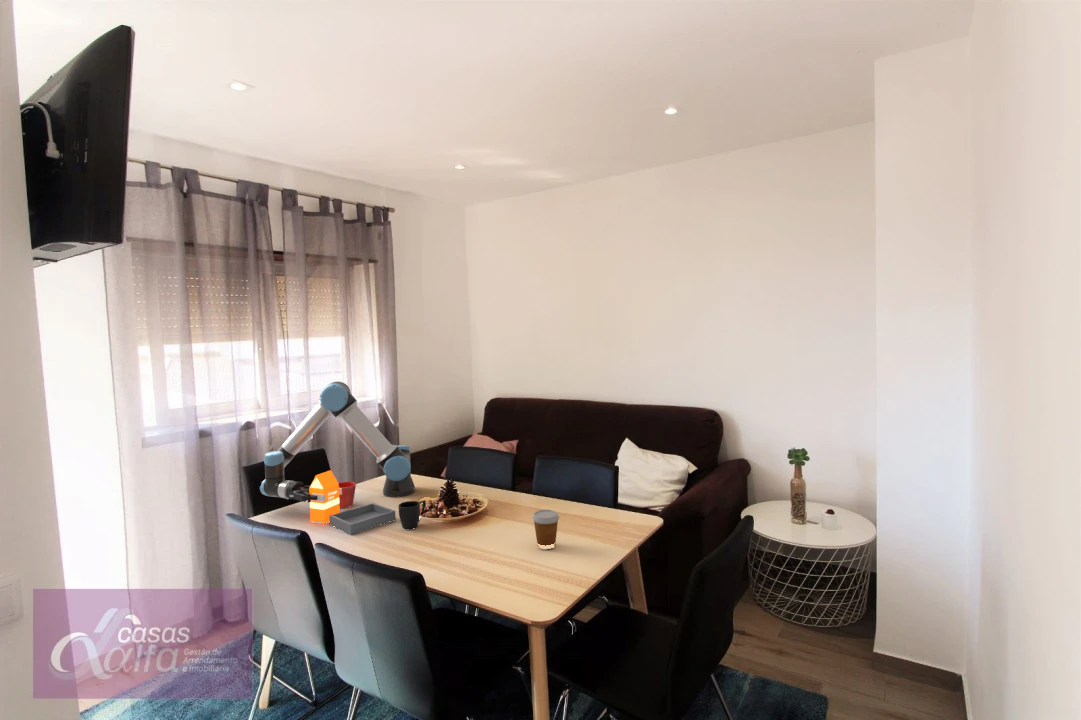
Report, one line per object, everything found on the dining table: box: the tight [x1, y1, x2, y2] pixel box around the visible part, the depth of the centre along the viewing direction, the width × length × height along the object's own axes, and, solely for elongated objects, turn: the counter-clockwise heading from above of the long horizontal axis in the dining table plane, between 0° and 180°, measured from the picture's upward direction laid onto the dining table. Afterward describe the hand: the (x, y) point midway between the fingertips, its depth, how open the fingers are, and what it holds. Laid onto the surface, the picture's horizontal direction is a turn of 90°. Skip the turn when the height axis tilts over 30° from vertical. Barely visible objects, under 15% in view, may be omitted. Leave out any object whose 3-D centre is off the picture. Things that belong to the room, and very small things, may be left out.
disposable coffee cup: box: [532, 509, 560, 546], centre depth 187 cm, size 10×10×12 cm
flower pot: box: [338, 481, 357, 509], centre depth 238 cm, size 11×11×10 cm
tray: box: [328, 502, 397, 536], centre depth 216 cm, size 20×17×4 cm
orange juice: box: [309, 469, 341, 524], centre depth 220 cm, size 8×9×20 cm
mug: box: [398, 500, 427, 530], centre depth 210 cm, size 8×12×10 cm
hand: (332, 494), depth 218 cm, fingers closed on orange juice, 9 cm apart
